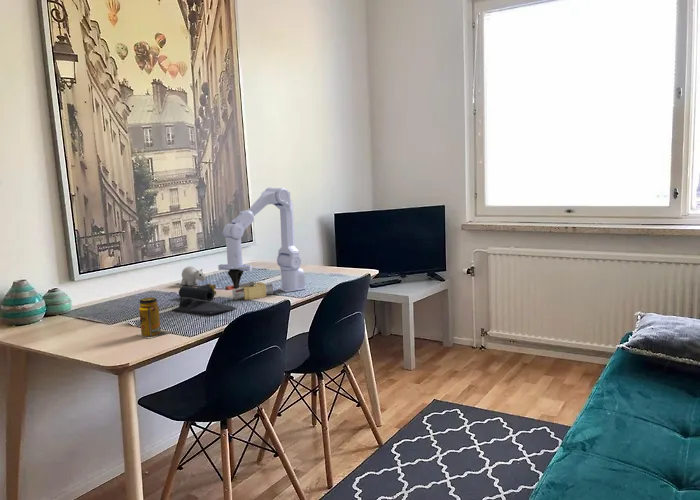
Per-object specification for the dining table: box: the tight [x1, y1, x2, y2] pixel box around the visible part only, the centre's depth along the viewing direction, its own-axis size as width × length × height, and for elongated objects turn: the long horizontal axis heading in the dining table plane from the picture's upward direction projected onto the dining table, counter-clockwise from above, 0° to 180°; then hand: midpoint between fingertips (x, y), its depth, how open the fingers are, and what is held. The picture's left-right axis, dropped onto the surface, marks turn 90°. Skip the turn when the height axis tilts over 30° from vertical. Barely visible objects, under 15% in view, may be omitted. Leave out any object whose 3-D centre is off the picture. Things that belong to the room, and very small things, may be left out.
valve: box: [231, 281, 274, 301], centre depth 244 cm, size 16×6×5 cm, turn 120°
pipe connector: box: [178, 283, 217, 302], centre depth 246 cm, size 12×5×15 cm
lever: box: [224, 280, 257, 291], centre depth 240 cm, size 13×3×1 cm, turn 133°
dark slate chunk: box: [173, 297, 237, 316], centre depth 226 cm, size 15×22×5 cm
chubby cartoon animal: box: [181, 266, 207, 287], centre depth 271 cm, size 7×12×8 cm, turn 66°
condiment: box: [137, 296, 170, 339], centre depth 195 cm, size 7×8×12 cm
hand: (236, 288), depth 237 cm, fingers closed, pressing on lever
